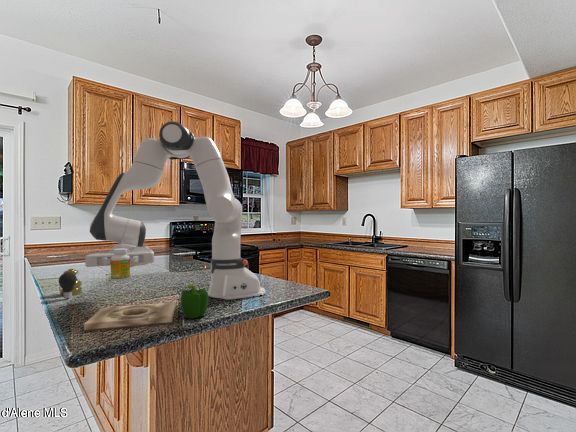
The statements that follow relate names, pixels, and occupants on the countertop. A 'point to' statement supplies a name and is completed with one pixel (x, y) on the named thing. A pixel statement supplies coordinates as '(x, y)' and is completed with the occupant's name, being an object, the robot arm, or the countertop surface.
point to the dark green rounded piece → (76, 288)
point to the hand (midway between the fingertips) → (120, 261)
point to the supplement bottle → (120, 265)
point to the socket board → (131, 316)
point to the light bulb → (67, 283)
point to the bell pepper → (194, 302)
